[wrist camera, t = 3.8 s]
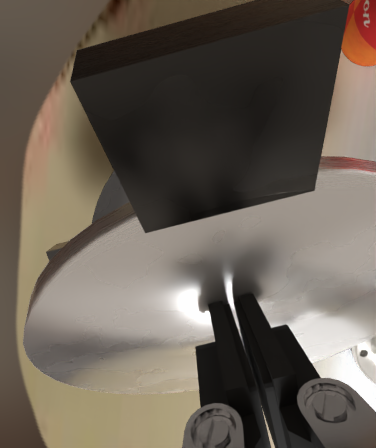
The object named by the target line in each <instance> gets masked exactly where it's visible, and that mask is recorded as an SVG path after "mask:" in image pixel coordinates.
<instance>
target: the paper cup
mask: <svg viewBox="0 0 376 448" xmlns="http://www.w3.org/2000/svg"><path fill="white" fill-rule="evenodd" d="M341 49H342V51H343V53H344V55H345V56H346V57H347V58H348V59H349V60H350V61H351V62H353V63H355V64H357V65H361V66H374V65H376V0H354V1H353V2H352V3H351V4H350V5H349V10H348V15H347V21H346V26H345V31H344V37H343V42H342V47H341Z"/></svg>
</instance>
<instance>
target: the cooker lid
mask: <svg viewBox="0 0 376 448" xmlns="http://www.w3.org/2000/svg"><path fill="white" fill-rule="evenodd" d="M348 10H349V4H347V3H345V2H343V1H342V0H255V1H252V2H248V3H245V4H241V5H237V6H234V7H230V8H227V9H223V10H219V11H216V12H212V13H209V14H205V15H202V16H198V17H194V18H191V19H187V20H184V21H180V22H176V23H173V24H169V25H166V26H162V27H159V28H155V29H151V30H148V31H144V32H141V33H137V34H134V35H130V36H126V37H123V38H119V39H116V40H112V41H108V42H105V43H101V44H98V45H94V46H91V47H87V48H83V49H80V50H77V52H76V57H75V62H74V66H73V71H72V76H71V80H70V82H71V84H72V86H73V88H74V90H75V92H76V94H77V96H78V98H79V100H80V102H81V104H82V106H83V108H84V110H85V112H86V114H87V116H88V118H89V121H90V123H91V125H92V127H93V129H94V131H95V133H96V135H97V137H98V139H99V141H100V143H101V145H102V147H103V149H104V151H105V153H106V155H107V157H108V159H109V161H110V163H111V165H112V167H113V169H114V171H115V173H116V175H117V177H118V179H119V181H120V183H121V185H122V187H123V189H124V191H125V193H126V195H127V197H128V199H129V201H130V202H128V203H127V204H125V205H123V206H121V207H119V208H118V209H116V210H114V211H112V212H111V213H109V214H107V215H105V216H103V217H102V218H100V219H98V220H97V221H95V222H94V223H93V224H91V225H90V226H88V227H87V228H86V229H84V230H83V231H82V232H80V233H79V234H78V235H76V236H75V237H74V238H72V239H71V240H70V241H69V242H68V243H67V244H66V245H65V246H64V247H63V248H62V249H61V250H60V251H59V252H58V253H57V254H56V255H55V256H54V257H53V258H52V259H51V260H50V261H49V263H48V264H47V265H46V267H45V268H44V270H43V271H42V273H41V274H40V276H39V277H38V279H37V281H36V284H35V286H34V289H33V292H32V294H31V297H30V302H29V307H28V312H27V317H26V322H25V327H24V338H23V345H24V348H25V352H26V355H27V357H28V358H29V359H30V361H31V362H32V363H33V365H34V366H35V367H36V368H38V369H39V370H40V371H41V372H43V373H44V374H45V375H47V376H49V377H51V378H53V379H55V380H57V381H59V382H62V383H65V384H68V385H70V386H74V387H78V388H82V389H87V390H93V391H99V392H108V393H119V394H163V393H177V392H187V391H196V390H199V383H198V372H197V362H196V351H195V347H196V346H198V345H202V344H207V343H211V342H215V337H214V332H213V327H212V322H211V317H210V312H209V307H208V304H211V303H215V302H219V301H223V305H224V304H228V303H229V304H230V307H231V310H232V313H233V316H234V319H235V322H236V325H237V328H238V331H239V334H240V337H241V340H242V336H241V331H240V327H239V323H238V319H237V315H236V310H235V306H234V302H236V301H239V298H238V297H240V296H244V295H248V294H252V293H253V294H254V296H255V298H256V299H257V301H258V303H259V305H260V307H261V309H262V311H263V313H264V315H265V317H266V319H267V320H268V322H269V324H270V326H271V328H272V327H277V326H281V325H285V324H286V325H288V326H289V328H290V329H291V331H292V333H293V334H294V336H295V337H296V339H297V341H298V342H299V344H300V345H301V347H302V349H303V350H304V352H305V353H306V355H307V357H308V358H309V360H310V361H311V363H314V362H317V361H320V360H322V359H325V358H328V357H330V356H333V355H336V354H338V353H340V352H343V351H345V350H348V349H350V348H352V347H354V346H357V345H359V344H361V343H363V342H365V341H367V340H369V339H371V338H373V337H375V336H376V162H374V161H368V160H361V159H355V158H348V157H324V156H321V153H322V148H323V143H324V138H325V132H326V127H327V122H328V116H329V111H330V106H331V100H332V95H333V90H334V84H335V79H336V74H337V68H338V63H339V58H340V53H341V47H342V42H343V37H344V31H345V26H346V21H347V15H348ZM242 343H243V340H242ZM243 346H244V344H243ZM244 349H245V348H244Z"/></svg>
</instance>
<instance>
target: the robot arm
mask: <svg viewBox="0 0 376 448" xmlns="http://www.w3.org/2000/svg"><path fill="white" fill-rule="evenodd" d="M238 298H239V301H236V302H234V306H235V310H236V315H237V319H238V323H239V327H240V331H241V336H242V340H243V343H242V340H241V337H240V334H239V331H238V328H237V325H236V322H235V319H234V316H233V313H232V310H231V307H230V304H229V303H228V304H224V305H223V301H219V302H215V303H211V304H208V307H209V312H210V317H211V322H212V327H213V332H214V337H215V342H211V343H207V344H202V345H198V346H196V347H195V351H196V362H197V372H198V383H199V394H200V405H201V408H200V409H198V410H197V411H196V412H195V413H194V414H192V415H191V417H190V419H189V420H188V422H187V424H186V427H185V431H184V438H183V446H182V448H271V445H270V441H269V437H268V432H267V428H266V424H265V420H264V415H265V418H266V421H267V424H268V427H269V430H270V433H271V436H272V439H273V442H274V445H275V448H376V412H375V411H374V410H373V409H372V408H371V407H370V406H369V405H368V404H367V403H366V401H365V400H364V399H363V398H362V397H361V396H360V395H359V394H358V393H357V392H356V391H355V390H354V389H352V388H351V387H350V386H349V385H347V384H345V383H343V382H341V381H339V380H334V379H330V378H320V376H319V374H318V373H317V371H316V370H315V368H314V366H313V365H312V363H311V361H310V360H309V358H308V357H307V355H306V353H305V352H304V350H303V349H302V347H301V345H300V344H299V342H298V341H297V339H296V337H295V336H294V334H293V333H292V331H291V329H290V328H289V326H288V325H286V324H285V325H281V326H277V327H272V328H271V326H270V324H269V322H268V320H267V319H266V317H265V315H264V313H263V311H262V309H261V307H260V305H259V303H258V301H257V299H256V298H255V296H254V294H253V293H252V294H248V295H244V296H240V297H238ZM243 344H244V346H243ZM244 348H245V349H244ZM352 354H353V357H354V360H355V362H356V364H357V365H358V367H359V369H360V370H361V371H362V372H363V373H364V374H365V376H366V377H367V378H368V379H370V380H371V381H372V382H373V383H375V384H376V336H375V337H373V338H371V339H369V340H367V341H365V342H363V343H361V344H359V345H357V346H354V347H352ZM261 406H262V407H261ZM262 409H263V411H262ZM263 412H264V415H263Z"/></svg>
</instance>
